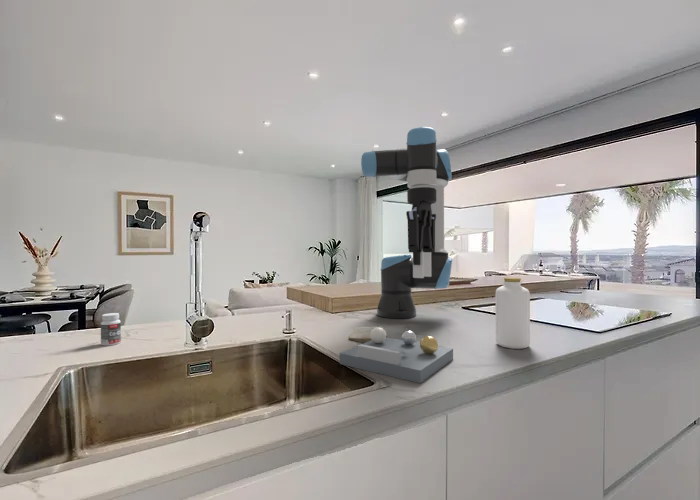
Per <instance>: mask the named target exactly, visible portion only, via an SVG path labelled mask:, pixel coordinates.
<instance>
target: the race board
mask: <svg viewBox="0 0 700 500" xmlns="http://www.w3.org/2000/svg"><path fill="white" fill-rule="evenodd" d="M453 359H454V348H452V347H446V346H441V345H440V346H439V345H438V349H437V351H436V352H435V353H433V354H426V353H424V352H423V351H422V350H421V348H420V342H417V341H415V343H414V344H412V345H406V344H405V343H404V342H403V341H402V339H398V338H391V337H388V336H386V339H385V341H384V342H382V343H379V344H378V343H375V342H373V341H372V340H371V341H368V342H366V343H364V342H362V343H361V344H358V345H356V346H354V347H351V348H349V349H346V350H343V351H342V352H339V364H340V365H343V366H347V367H351V368H356V369H359V370H363V371H368V372H371V373H376V374H381V375H385V376H388V377H393V378H396V379H397V378H398V379H402V380H404V381H405V380H406V381H411V382H413V383H418V384H421V383H423V382H424V381H426V380H427V379H428V378H429V377H431V376H433V374H435V373H437V372H438V371H439V370H440V369H442V368H443V367H444V366H446V365H448V364H449V363H450V362H451V361H452V360H453Z"/></svg>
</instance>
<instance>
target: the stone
mask: <svg viewBox="0 0 700 500" xmlns="http://www.w3.org/2000/svg"><path fill="white" fill-rule="evenodd" d="M376 327H377V326H358V327H354V328H353V330H352V332H351V334H350V335H349V336H348V340H349V341H353V342H357V343H358V342H359V343H366V342H368V341H371V340H372V339H371V337H370V334H371V331H372V330H373V329H374V328H376ZM379 327H380V328H383V329H384V330H385V329H386V328H385V327H384V326H379ZM385 331H386V330H385Z"/></svg>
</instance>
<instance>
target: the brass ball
mask: <svg viewBox="0 0 700 500" xmlns="http://www.w3.org/2000/svg"><path fill="white" fill-rule="evenodd" d="M419 343H420V348H421V350H422V351H423V352H424V353H426V354H433V353H435V352H436V351H437V349H438V346H439V342H438V341H437V339H436V337H434V336H432V335H426V336H424V337H423V338H421V339H420V342H419Z"/></svg>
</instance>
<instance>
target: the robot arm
mask: <svg viewBox="0 0 700 500" xmlns="http://www.w3.org/2000/svg"><path fill="white" fill-rule="evenodd" d="M436 133H437V132H436V130H435V129H434V128H432V127H428V126H417V127H414V128H412V129H410V130H409V131H407V136H406V148H397V149H383V150H371V151H364V152H363V153H362V155H361V157H360V158H361V160H360V165H361V173H362V174H363V176H364V177H365V178H366V177H367V178H377V177H388V178H389V179H392V180H394V181H395V180H396V181H402V182H407V185H406V186H407V188H408V190H407V193H406V194H407V197H406V198H407V201H406V202H407V204H409V205H412V206H411V210H407V211H406V220H407V245H408V246H407V249H408V254H400V255H392V256H385V257H383V258H382V259H381V265H380V278H381V279H380V280H381V281H380V282H381V284H380V286H381V288H380V291H381V292H380V297H379V301H378V305H377V308H376V315H377V316H379V317H382V318H387V319H408V318H409V319H410V318H414V317H416V315H417V309H416V305H415V302H414V299H413V295H412V289H426V290H427V289H429V290H431V289H432V290H433V289H434V290H437V289H438V290H441V289H447V288H448V287H449V285H450V280H451V275H452V274H451V273H452V267H453V266H452V265H453V258H452V257H449V252H448V251H447V250H446V249H445V188H446V187H447V186H448V184H449V181H450V180H452V178H453V176H452V174H453V173H452V167H451V166H452V165H451V159H450V153H449V151H447V150H446V149H437V134H436ZM411 253H412V255H411Z"/></svg>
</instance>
